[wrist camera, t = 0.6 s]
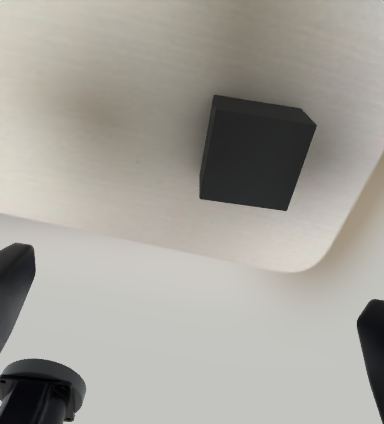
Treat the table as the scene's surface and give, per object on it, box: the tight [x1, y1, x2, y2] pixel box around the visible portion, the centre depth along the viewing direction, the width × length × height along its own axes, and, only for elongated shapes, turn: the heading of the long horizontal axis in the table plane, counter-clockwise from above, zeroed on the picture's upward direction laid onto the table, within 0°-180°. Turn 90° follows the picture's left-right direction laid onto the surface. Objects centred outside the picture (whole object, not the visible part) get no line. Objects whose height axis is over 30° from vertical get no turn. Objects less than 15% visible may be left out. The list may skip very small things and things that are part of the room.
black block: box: [200, 95, 317, 211], centre depth 19 cm, size 5×5×3 cm
